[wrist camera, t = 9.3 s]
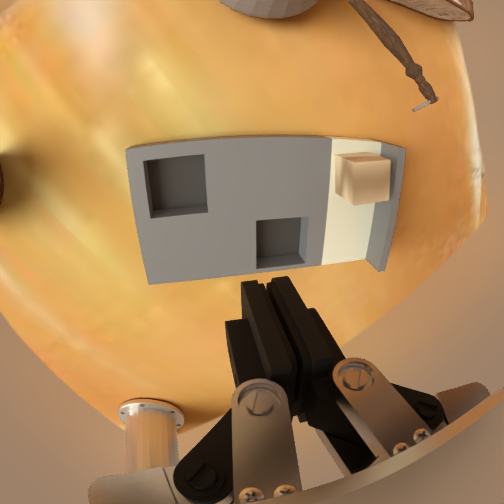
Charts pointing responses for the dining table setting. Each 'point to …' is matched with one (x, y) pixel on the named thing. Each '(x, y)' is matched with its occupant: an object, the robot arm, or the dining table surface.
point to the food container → (1, 184)
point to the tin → (441, 8)
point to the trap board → (254, 205)
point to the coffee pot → (293, 3)
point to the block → (362, 177)
